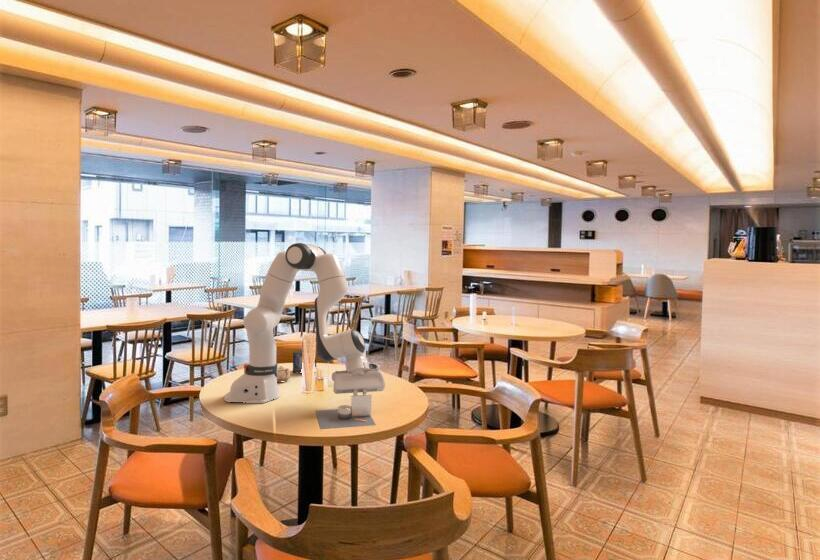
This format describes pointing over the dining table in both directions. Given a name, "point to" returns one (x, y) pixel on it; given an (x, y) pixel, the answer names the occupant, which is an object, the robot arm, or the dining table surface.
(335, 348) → the robot arm
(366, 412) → the grey block with knob
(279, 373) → the trinket box
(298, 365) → the small box
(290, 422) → the dining table surface
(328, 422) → the base plate
